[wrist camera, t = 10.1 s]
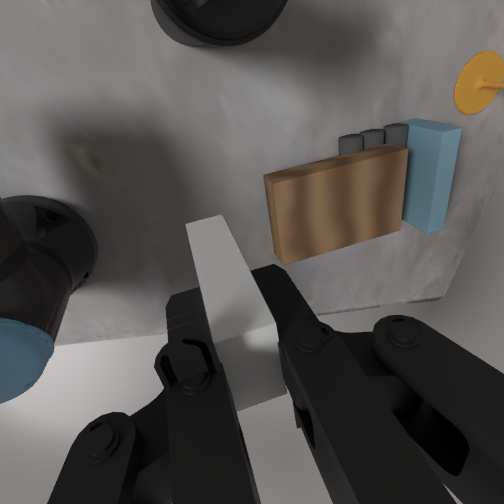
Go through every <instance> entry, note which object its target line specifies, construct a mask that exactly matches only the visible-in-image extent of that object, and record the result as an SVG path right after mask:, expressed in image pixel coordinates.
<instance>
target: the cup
mask: <svg viewBox="0 0 504 504" xmlns="http://www.w3.org/2000/svg"><path fill="white" fill-rule="evenodd" d="M503 77H504V64H503V61H502V58H501V56H500V55H498V54H497V53H496V52H495V51H484V52H482V53H480V54H478V55H476V56H474V57H473V58H472V59H471V60H470V61H469V62H468V63H467V64H466V65H465V67H464V68H463V70H462V72H461V74H460V75H459V77H458V80H457V83H456V87H455V90H454V102H455V104H456V106H457V108H458V110H459V111H461V112H462V113H464V114H475V113H477V112H479V111H481V110H483V109H484V108H485V107H486V106H488V105H489V104H490V103H491V102H492V101H493V99H494V97H495V96H496V94H497V93H498V91H499V89H500V88H502V89H504V82H502V81H503Z"/></svg>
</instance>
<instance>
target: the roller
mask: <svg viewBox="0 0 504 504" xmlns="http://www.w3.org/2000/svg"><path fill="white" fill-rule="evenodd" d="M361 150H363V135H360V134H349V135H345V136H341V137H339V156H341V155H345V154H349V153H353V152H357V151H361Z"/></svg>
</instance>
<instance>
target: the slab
mask: <svg viewBox="0 0 504 504" xmlns="http://www.w3.org/2000/svg"><path fill="white" fill-rule="evenodd" d="M407 158H408V149H407V148H404V147H401V146H398V145H395V144H392V143H388V144H384V145H380V146H377V147H373V148H369V149H365V150H361V151H357V152H353V153H349V154H345V155H341V156H337V157H333V158H329V159H325V160H321V161H317V162H313V163H309V164H305V165H301V166H297V167H293V168H289V169H285V170H281V171H277V172H273V173H269V174H265V175H263V177H264V184H265V191H266V198H267V205H268V212H269V219H270V226H271V233H272V239H273V246H274V253H275V254H276V256H277V257H278V259H279V260H280V262H281V263H282V265H286V264H289V263H293V262H296V261H299V260H303V259H306V258H309V257H313V256H316V255H320V254H323V253H326V252H330V251H333V250H336V249H340V248H343V247H346V246H350V245H353V244H356V243H360V242H363V241H366V240H370V239H373V238H376V237H380V236H383V235H386V234H390V233H393V232H396V231H400V227H401V217H402V208H403V198H404V188H405V178H406V168H407Z"/></svg>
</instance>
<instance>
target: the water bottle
mask: <svg viewBox="0 0 504 504" xmlns="http://www.w3.org/2000/svg"><path fill="white" fill-rule="evenodd" d="M287 1H288V0H151V6H152V10H153V13H154V16H155V18H156V20H157V22H158V24H159V25H160V27H161V28H162V29H163V31H164V32H165V33H166V34H167V35H168V36H169V37H170V38H172V39H173V40H175V41H176V42H178V43H180V44H183V45H187V46H199V45H207V46H212V47H233V46H237V45H242V44H245V43H247V42H250V41H252V40H254V39H256V38H257V37H259V36H260V35H262V34H263V33H264V32H265V31H266V30H268V29H269V28H270V27H271V25H272V24H273V23H274V22H275V21H276V19H277V18H278V17H279V15H280V14H281V12H282V10H283V9H284V7H285V5H286V3H287Z"/></svg>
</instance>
